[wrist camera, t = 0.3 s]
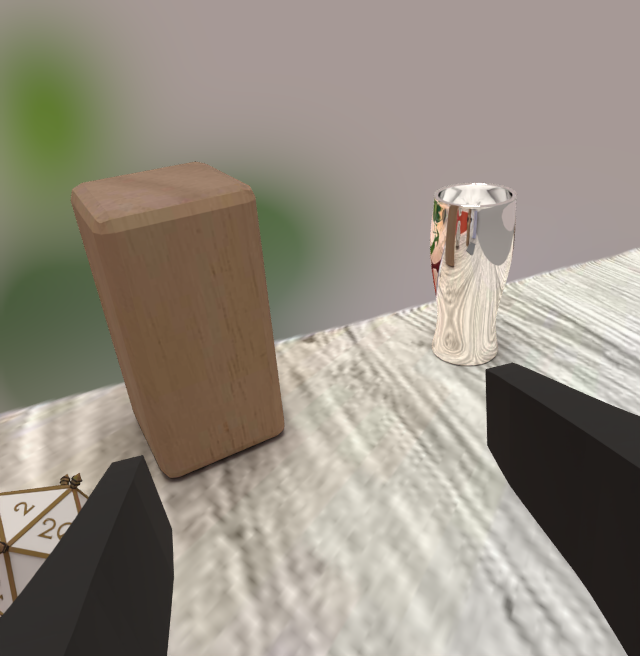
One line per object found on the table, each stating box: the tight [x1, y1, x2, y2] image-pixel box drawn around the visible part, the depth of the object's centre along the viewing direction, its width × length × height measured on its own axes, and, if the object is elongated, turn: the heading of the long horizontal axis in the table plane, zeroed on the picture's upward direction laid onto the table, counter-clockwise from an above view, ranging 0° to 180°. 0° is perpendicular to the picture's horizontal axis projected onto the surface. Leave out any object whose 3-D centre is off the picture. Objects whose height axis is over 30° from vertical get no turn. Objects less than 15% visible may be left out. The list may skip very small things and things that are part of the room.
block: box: [71, 162, 284, 478], centre depth 41 cm, size 10×10×20 cm
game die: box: [0, 473, 89, 616], centre depth 31 cm, size 9×8×10 cm
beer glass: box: [430, 183, 517, 366], centre depth 49 cm, size 7×7×15 cm
